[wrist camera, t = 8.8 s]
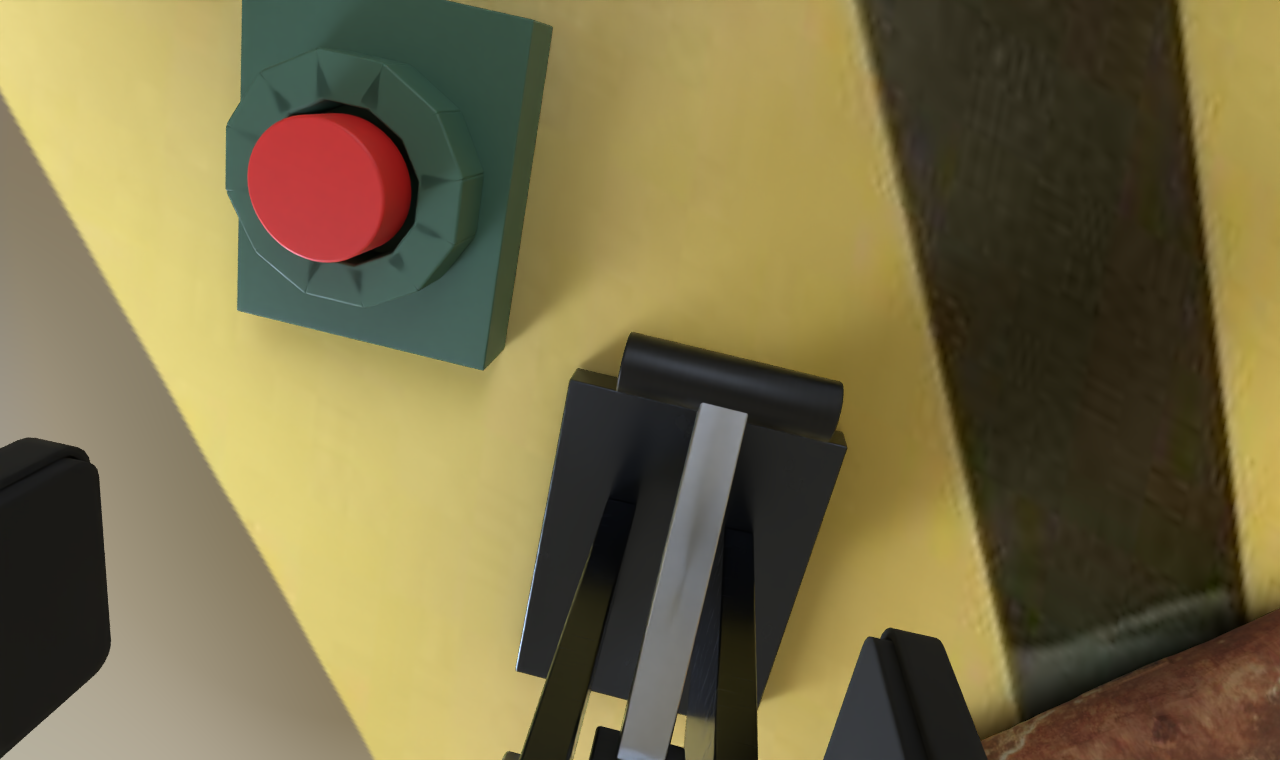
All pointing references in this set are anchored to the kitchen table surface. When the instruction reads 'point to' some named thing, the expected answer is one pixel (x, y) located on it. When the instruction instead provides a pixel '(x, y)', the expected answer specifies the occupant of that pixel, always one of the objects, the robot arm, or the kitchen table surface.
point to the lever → (699, 508)
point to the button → (328, 185)
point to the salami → (1169, 708)
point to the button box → (433, 152)
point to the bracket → (630, 560)
